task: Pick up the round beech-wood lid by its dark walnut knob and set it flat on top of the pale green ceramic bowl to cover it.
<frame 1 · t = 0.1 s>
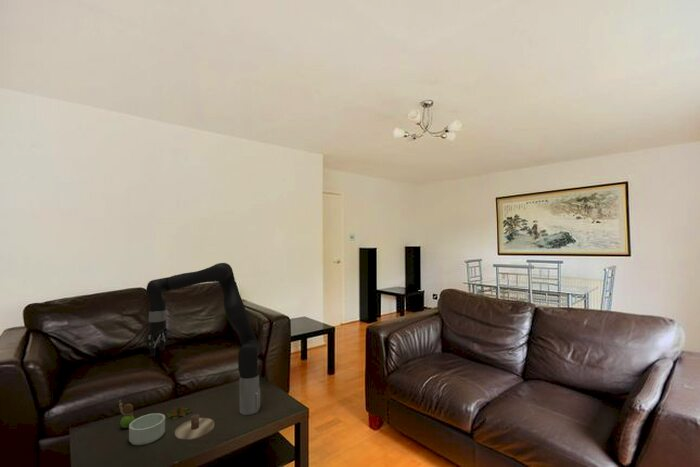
hand: (157, 352, 160), 29 cm above the table, tool pointing down, fingers open, 8 cm apart
bowl: (147, 436, 140), on the table
lily flower: (178, 414, 159), on the table
snail figurine: (126, 427, 148), on the table
lid: (195, 429, 146), on the table
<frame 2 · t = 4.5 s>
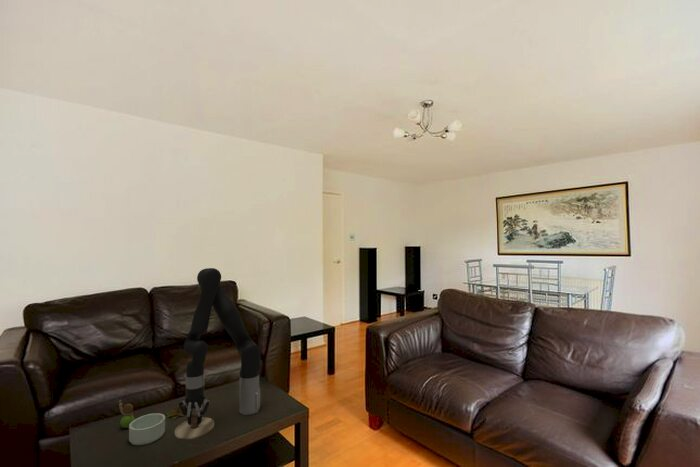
hand: (194, 423, 146), 2 cm above the table, tool pointing down, fingers closed on lid, 3 cm apart
lid: (194, 429, 146), on the table, touching gripper
everything else where it was.
when the fingers open (10 cm above the table, at t = 9.7 s): lid drops 1 cm, resting on bowl.
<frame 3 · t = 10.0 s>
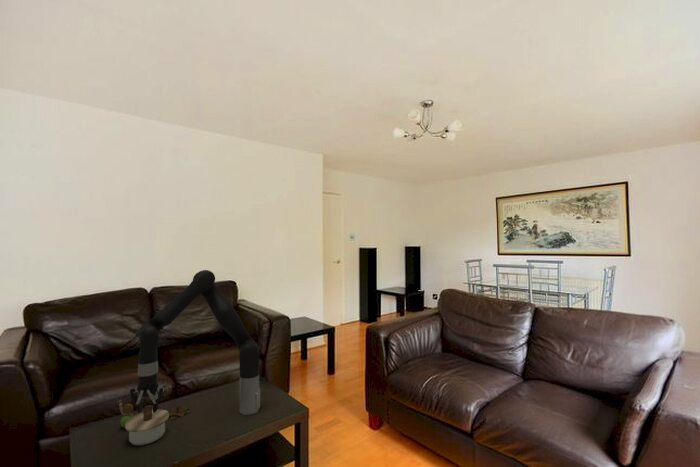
hand: (147, 411, 140), 11 cm above the table, tool pointing down, fingers open, 5 cm apart
lid: (147, 421, 140), point 6 cm above the table, touching bowl
everything else where it was.
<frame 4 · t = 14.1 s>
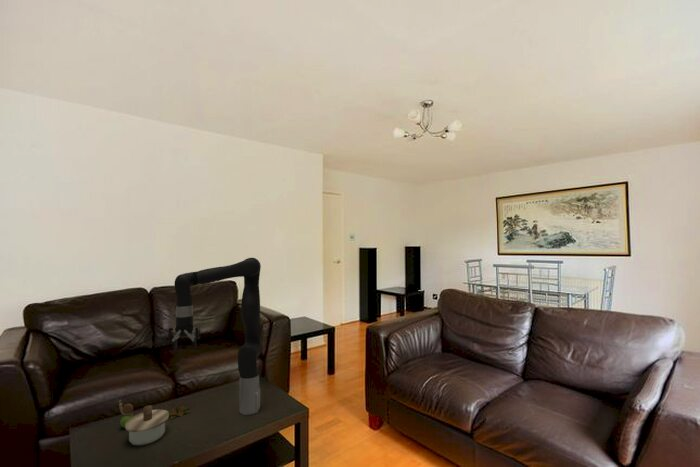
hand: (184, 348, 157), 32 cm above the table, tool pointing down, fingers open, 8 cm apart
nothing on the table moved.
at the end: lid 0.1 cm off-centre on the bowl, point 6.5 cm above the bowl's base; lid tilted 0°; the gripper is holding nothing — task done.
